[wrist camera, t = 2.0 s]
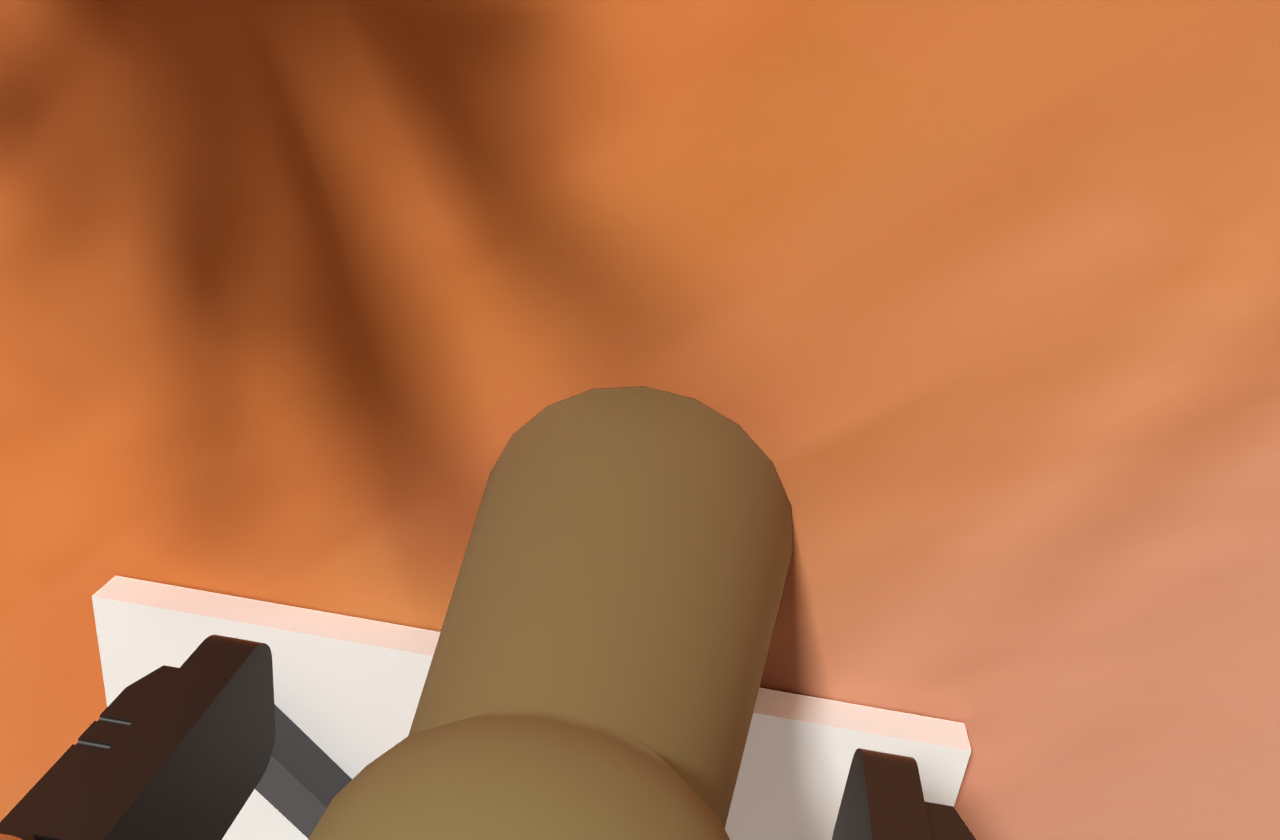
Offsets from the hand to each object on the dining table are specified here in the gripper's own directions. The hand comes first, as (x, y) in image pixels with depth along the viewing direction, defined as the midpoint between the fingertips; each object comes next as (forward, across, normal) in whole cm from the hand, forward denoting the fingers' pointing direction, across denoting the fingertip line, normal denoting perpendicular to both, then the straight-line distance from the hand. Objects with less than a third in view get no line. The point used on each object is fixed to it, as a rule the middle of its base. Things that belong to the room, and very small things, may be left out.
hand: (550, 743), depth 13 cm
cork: (+6, 0, 0) cm, 6 cm away
